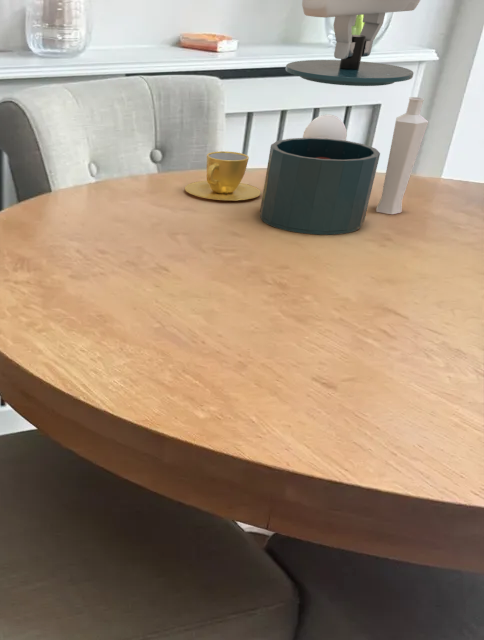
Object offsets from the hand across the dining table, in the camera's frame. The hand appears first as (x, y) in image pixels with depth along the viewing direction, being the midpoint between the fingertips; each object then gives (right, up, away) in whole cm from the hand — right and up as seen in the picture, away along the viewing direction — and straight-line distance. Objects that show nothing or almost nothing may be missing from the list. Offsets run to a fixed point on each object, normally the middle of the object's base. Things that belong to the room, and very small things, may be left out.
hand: (351, 57), depth 110 cm
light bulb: (+5, -2, +31) cm, 32 cm away
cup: (-10, -3, +30) cm, 31 cm away
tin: (+1, -13, +18) cm, 22 cm away
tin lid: (0, -1, +1) cm, 2 cm away
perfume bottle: (+14, -9, +23) cm, 28 cm away
